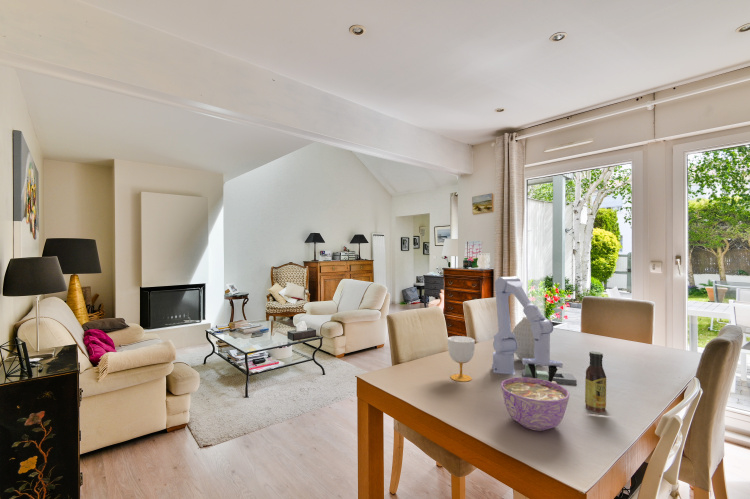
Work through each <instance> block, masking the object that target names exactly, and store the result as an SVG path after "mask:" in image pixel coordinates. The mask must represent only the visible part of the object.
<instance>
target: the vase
mask: <svg viewBox="0 0 750 499" xmlns="http://www.w3.org/2000/svg"><path fill="white" fill-rule="evenodd" d="M531 326H532V324H531V323H530V321H529V320H528V318H527V317H526V316H523V317H522V319H521V320H520V321H519V322H517V324H516V325H515V326H514V328H513V330H512V331H511V332H512V333H513V334H515V336H516V340H517V343H518V348H517V350H516V351H515V353H514V355H515V356H516V357H517V358H518V359H519V360H520V361H521V362H522V359H523V358H524V359H534V337H533V332H532V330H531Z"/></svg>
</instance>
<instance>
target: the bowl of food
mask: <svg viewBox="0 0 750 499" xmlns="http://www.w3.org/2000/svg"><path fill="white" fill-rule="evenodd" d="M500 387H501V391H502V396H503V401H504V404H505V407H506V411H507V412H508V414H509V415H510V417H511V418H512V419H513V420H514V421H515V422H517V423H518V424H520V425H521V426H523V427H524V428H526V429H528V430H533V431H539V432H541V431H547V430H550V429H553V428H555V427H558V426H559V424H561V423H562V421H563V420H564V416H565V414H566V411H567V406H568V402H569V399H570V392H569V390H567V389H566V388H565V387H563V386H561V385H560V384H559V383H557V384H555V383H552V382H549V381H546V380H541V379H536V378H525V377H523V376H522V377H520V376H519V377H510V378H506V379H504V380H502V382H500Z"/></svg>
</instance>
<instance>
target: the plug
mask: <svg viewBox="0 0 750 499" xmlns="http://www.w3.org/2000/svg"><path fill="white" fill-rule="evenodd" d="M547 372H548V371H544V370H543V371H542V370H536V379H541V380H546V381H548V378H549V376H548V373H547Z"/></svg>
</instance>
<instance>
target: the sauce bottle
mask: <svg viewBox="0 0 750 499" xmlns="http://www.w3.org/2000/svg"><path fill="white" fill-rule="evenodd" d="M588 355H589V365H588V366H587V368H586V370H585V384H584V386H585V388H584V389H585V390H584V391H585V392H584V403H585V408H586V409H588V410H589V411H592V412H595V413H597V412H598V413H604V412H605V411H606V408H607V376H606V372H605V370H604V367H603V357H604V354H603V353H602V352H600V351H599V352H598V351H594V350H593V351H589V354H588Z"/></svg>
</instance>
